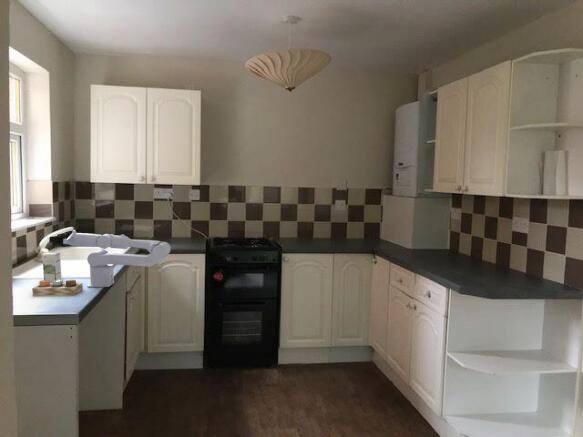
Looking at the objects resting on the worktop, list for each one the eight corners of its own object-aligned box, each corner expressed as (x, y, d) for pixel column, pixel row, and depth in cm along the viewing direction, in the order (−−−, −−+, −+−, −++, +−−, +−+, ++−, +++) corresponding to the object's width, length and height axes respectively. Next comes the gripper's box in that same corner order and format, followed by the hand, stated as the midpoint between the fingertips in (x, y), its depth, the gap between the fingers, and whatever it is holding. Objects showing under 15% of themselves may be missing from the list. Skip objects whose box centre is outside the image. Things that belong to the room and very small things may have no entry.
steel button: (64, 285, 209) (64, 279, 209) (60, 287, 205) (60, 281, 205) (55, 285, 209) (55, 279, 208) (51, 287, 205) (50, 282, 204)
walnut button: (77, 285, 209) (77, 279, 209) (73, 287, 205) (73, 281, 205) (68, 285, 209) (68, 279, 209) (64, 287, 205) (63, 281, 205)
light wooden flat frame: (82, 289, 212) (82, 282, 211) (74, 295, 203) (73, 288, 202) (43, 289, 211) (42, 283, 211) (32, 295, 202) (32, 288, 202)
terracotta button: (51, 285, 209) (51, 279, 208) (47, 287, 205) (47, 282, 204) (42, 285, 209) (42, 279, 208) (37, 287, 205) (37, 282, 204)
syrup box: (62, 282, 225) (60, 251, 223) (56, 285, 219) (54, 253, 217) (49, 282, 225) (47, 251, 223) (43, 285, 219) (41, 253, 217)
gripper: (91, 228, 224) (61, 226, 223) (78, 233, 209) (46, 231, 209) (90, 244, 224) (60, 242, 224) (77, 249, 210) (45, 247, 209)
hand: (53, 237), depth 216 cm, fingers open, 7 cm apart
